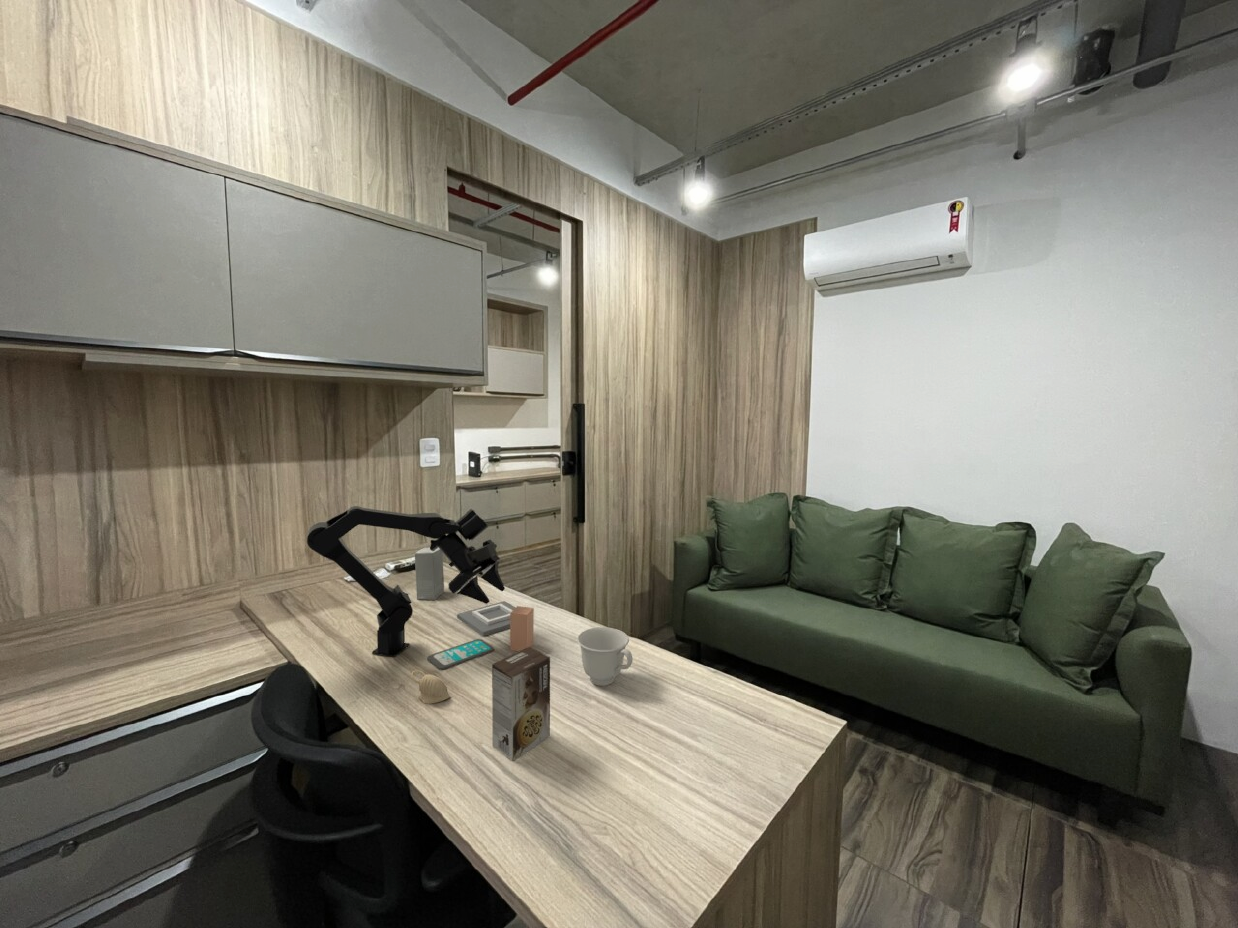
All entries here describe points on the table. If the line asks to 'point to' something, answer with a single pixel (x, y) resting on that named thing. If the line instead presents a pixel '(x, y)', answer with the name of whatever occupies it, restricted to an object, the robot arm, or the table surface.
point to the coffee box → (520, 702)
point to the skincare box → (429, 573)
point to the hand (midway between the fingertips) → (496, 596)
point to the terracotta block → (521, 628)
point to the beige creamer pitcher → (431, 688)
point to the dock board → (488, 618)
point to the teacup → (604, 653)
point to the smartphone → (460, 654)
